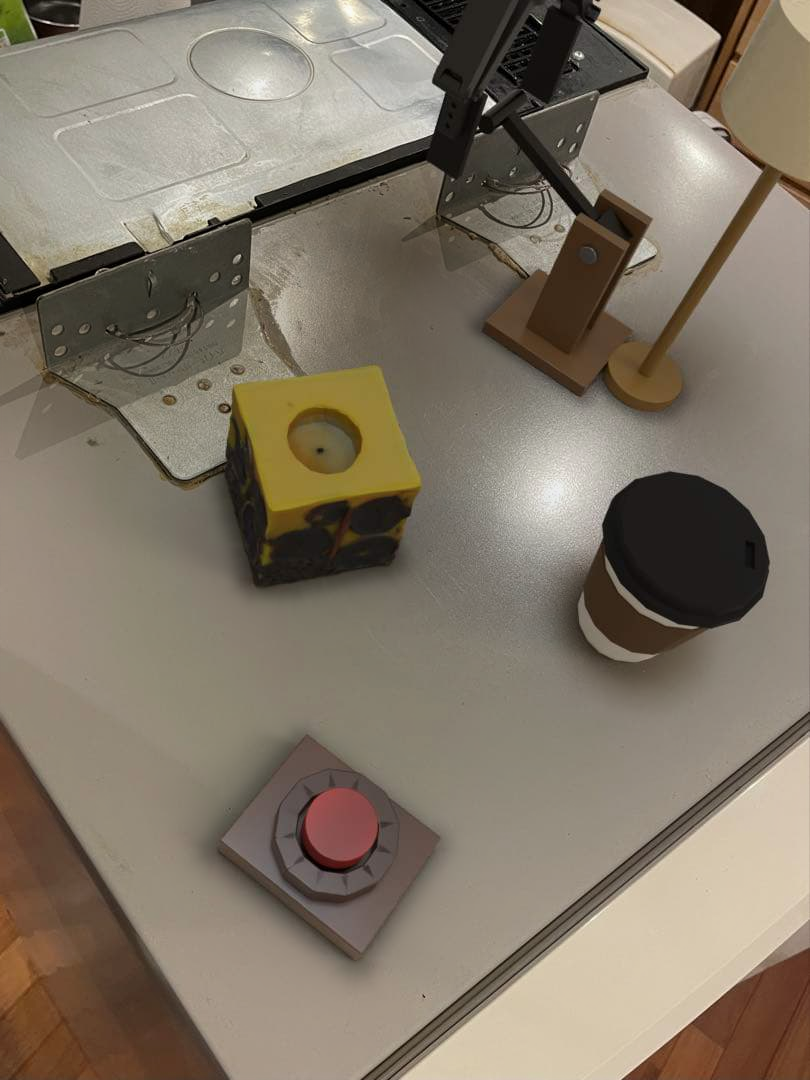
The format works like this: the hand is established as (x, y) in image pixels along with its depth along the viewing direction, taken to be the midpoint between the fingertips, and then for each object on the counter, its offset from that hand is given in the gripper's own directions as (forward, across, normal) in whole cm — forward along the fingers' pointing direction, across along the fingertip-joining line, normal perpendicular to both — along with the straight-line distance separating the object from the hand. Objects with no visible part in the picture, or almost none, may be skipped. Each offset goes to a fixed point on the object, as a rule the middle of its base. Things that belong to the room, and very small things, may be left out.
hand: (491, 129), depth 74 cm
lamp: (+14, +2, -20) cm, 24 cm away
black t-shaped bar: (+2, +1, -6) cm, 6 cm away
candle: (+14, -28, -7) cm, 33 cm away
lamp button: (+10, -46, -22) cm, 52 cm away
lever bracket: (+14, +1, -12) cm, 18 cm away
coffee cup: (+14, -20, -29) cm, 38 cm away
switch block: (+14, -46, -22) cm, 53 cm away
